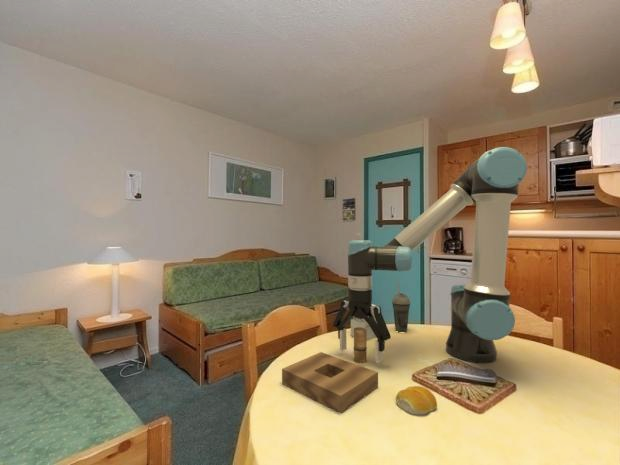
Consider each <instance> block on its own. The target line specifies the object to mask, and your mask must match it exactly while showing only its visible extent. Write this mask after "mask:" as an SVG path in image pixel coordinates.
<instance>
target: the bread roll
mask: <svg viewBox="0 0 620 465" xmlns="http://www.w3.org/2000/svg"><path fill="white" fill-rule="evenodd" d="M395 403H396V404H397V406H398V407H399V408H400V409H402V410H403V411H404V412H407V413H408V414H410V415H415V416H416V415H417V416H419V415H420V416H423V415H426V414H428V413H430V412H433V411H434V410H436V409H437V407H438V402H437V398H436V397H435V394H433V393H432V392H431V391H430V390H429V389H428V388H426V387H423V386H421V385H415V386H408V387H406V388H404V389H401V390H399V391H398V392H397V394H396V396H395Z"/></svg>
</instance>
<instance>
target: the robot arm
mask: <svg viewBox="0 0 620 465" xmlns="http://www.w3.org/2000/svg"><path fill="white" fill-rule="evenodd" d="M527 171H528V163H527V160H526V158H525V157H524V155H523V154H521V153H520V152H519V151H518V150H516V149H515V148H513V147H512V148H511V147H508V146H499V147H495V148H493V149H489V150H487V151H485V152H484V153H483V154H482V155H481V156H480V157H479V158H477V159H476V160H474V161H473V162H472V163H470V164H469V166H468V167H467V168H466V169H465V170H464V172H463V173H461V175H460V176H459V177H458V178H457V179H455V181H454V182H453V183H451V184H450V189H449V190H448V191H446V192H445V193H444V194H443V195H442V196H441V197H440V198H439V199H437V201H435V202H434V203H433V204H431V206H430V207H428V208H427V209H426V210H425V211H424V212H423V213H422V214H420V215H419V216H418V217H417V218H416V219H414V220H413V221H412V222H411V223H410V224H409V225H407V227H405V228H404V229H403V230H402V231H401V232H399V233H398V234H397V235H395V237H394V238H393V239H391V240H390V241H388V243H387V244H386V245H383V246H373V242H372V241H371V240H368V239H367V240H366V239H365V240H363V239H362V240H360V239H358V240H357V239H353V240H350V241H349V243H348V247H347V248H348V249H347V267H348V268H347V269H348V270H347V274H348V277H347V278H348V279H347V281H348V283H347V284H348V289H347V290H348V291H347V293H348V294H347V298H348V300H347V299H345V300H341V301H340V307H339V310H338V312H337V315H336V316H335V318H334V321H333V324H332V327H334V328H336V329H337V337H338V340H339V351H341V352H343V351H344V350H347V329H346V326H347V325H348V324H349V323H351V319H352V318H353V317H355V318H360V319H364V320H365V321H366V322H367V323H368V324H369V326H370V328H371V329H372V331H373V332H374V334H375V336H376V338H377V339H376V340H375V363H377V364H378V363H380V362H382V361H383V351H385V349H386V346H385V341H387V340H389V339H391V337H392V335H391V334H390V331H389V328H388V326H387V324H386V321H385V318H384V315H383V314H382V307H381V306H380V305H378V306H377V305H376V307H372V302H373V290H372V288H373V271H391V272H392V271H393V272H407V271H408V272H409V271H411V269H412V265H413V262H412V261H413V256H412V255H413V254H412V252H413V251H414V250H416V249H417V248H418V247H419V246H420V245H422V244H423V243H424V242H425V241H426V240H428V238H430V237H431V236H432V235H433V234H435V233H436V232H437V231H438V230H440V229H441V227H443V226H445V224H447V223H448V222H449V221H450V220H451V219H452V218H454V217H455V216H456V215H457V214H459V213H460V212H461V211H462V210H463V209H464V208H466V206H473V205H474V204H476V205H475V215H474V216H475V219H474V230H473V232H474V233H473V244H472V245H473V246H472V258H471V269H470V270H471V271H470V272H471V273H470V281H469V282H468V283H467V284H454V285H452V286H451V291H450V296H451V297H450V299H451V300H450V303H451V305H450V306H451V307H450V308H451V309H450V310H451V311H450V312H451V314H450V316H451V317H450V322H451V327H450V331H449V334H448V336H447V339H446V342H445V352H447V353H448V354H449V355H450V356H452V357H453V358H456V359H460V360H463V361H466V362H472V363H473V362H474V363H492V362H494V361H497V358H498V356H497V354H498V353H497V348H496V345H495V342H494V341H499V340H501V339H504V338H505V337H507V336H509V334H511V332H512V331H513V330H514V328H515V325H516V324H515V323H516V317H515V314H514V311H513V309H512V308H511V307H510V301H511V298H510V297H511V292H510V291H509V290H508V289H507V288H506V286H505V281H506V271H507V270H506V268H507V255H508V246H509V244H508V242H509V229H510V218H511V217H510V215H511V203H513V202H514V201H515V200H516V199H517V198H518V197H519V186H520V185H519V184H520V183H521V182H522V181H523V179H524V178H525V177H526V175H527ZM348 309H349V311H348V313H347V314H346V312H347V310H348ZM371 311H373V312H372V313H373V314H374V316H373V315H372V313H371ZM345 314H346V316H345ZM368 316H369V317H368ZM374 317H375V319H376V321H375V320H374Z"/></svg>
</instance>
